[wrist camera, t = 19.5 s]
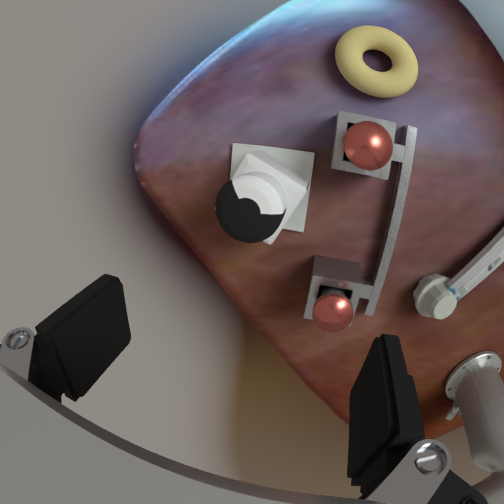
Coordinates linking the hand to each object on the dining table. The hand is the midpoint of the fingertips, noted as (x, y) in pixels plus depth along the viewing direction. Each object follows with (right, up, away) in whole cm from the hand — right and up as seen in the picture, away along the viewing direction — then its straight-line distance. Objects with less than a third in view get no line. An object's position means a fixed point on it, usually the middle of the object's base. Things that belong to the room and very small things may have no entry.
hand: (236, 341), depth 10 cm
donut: (+15, +26, +17) cm, 35 cm away
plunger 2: (+13, +16, +21) cm, 29 cm away
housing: (+14, +7, +25) cm, 29 cm away
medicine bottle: (+3, +11, +26) cm, 28 cm away
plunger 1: (+11, -1, +28) cm, 30 cm away
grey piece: (+33, +3, +22) cm, 40 cm away
